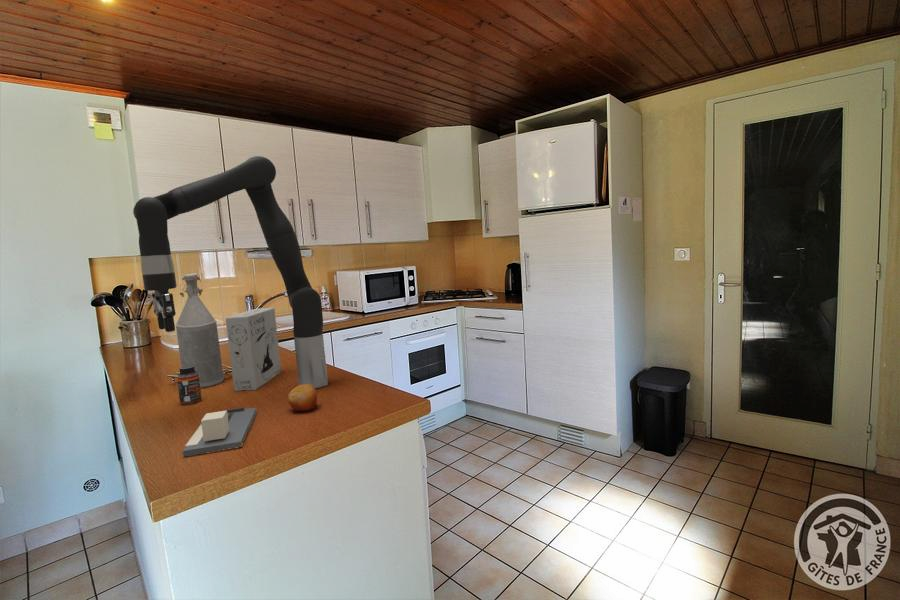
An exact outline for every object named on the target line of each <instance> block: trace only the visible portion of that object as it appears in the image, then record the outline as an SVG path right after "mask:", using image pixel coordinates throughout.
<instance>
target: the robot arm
mask: <svg viewBox="0 0 900 600" xmlns="http://www.w3.org/2000/svg"><path fill="white" fill-rule="evenodd" d="M276 177H277V170H276V167H275V165H274V163H273V162H272V161H271V160H270V159H269V158H267V157H264V156H259V155H255V156H252V157H249V158H248V159H246V160H245V161H244V162H241V163H240V164H238V165H236V166H235V167H232V168H230V169H227V170H225V171H223V172H220V173H218V174H215V175H211V176H209V177H205V178H202V179H199V180H196V181H192V182H190V183H187V184H183V185H180V186H178V187H175V188H173V189H171V190H169V191H167V192H166V193H163V194H160V195H157V196H147V197H141V198H139V200H137V202H136V203H135V204H134V207H133V210H132V212H133V217H134V219H136V223H137V230H138V234H139V236H138V247H139V254H140V269H141V274H142V282H143V283H142V284H143V288H144V291H146V292H149V291H150V292H151V291H153V292H152V293H151V297H152V306H153V313H154V314H155V316H156V319H157V325H158V330H165V332H167V333H171V332H176V324H175V316H176V313H177V312H176V310H175V304H174V303H175V301H174V294H173V293H170V292H169V290H171V289H172V290H173V289H176V288H177V280H176V272H175V264H174V261H173V258H172V253H171V244H170V240H169V236H168V235H169V234H168V232H169V231H168V229H169V228H168V220H170V219H173V218H175V217H177V216H179V215H183V214H186V213H189V212H193V211H195V210H198V209H200V208H203V207H206V206H209V205H210V204H213V203H215V202H216V201H220V200H221V199H223V198H224V197H227V196H229V195H232V194H234V193H236V192H239V191H242V190H245V191H246V193H247V195H248V197H249V200H250V202H251V204H252V205H253V209H254V211H255V213H256V216H257V217H256V218H257V220H258V223H259V225H260V229H261V231H262V234H263V237H264V240H265V242H266V245H267V248H268V250H269V253H270V255H271V257H272V259H273V261H274V263H275V265H276V267H277V269H278V272H279V273H280V275H281V277H282V279H283V280H282V281H283V284H284V287H285V290H286V294H287V298H288V302H289V306H290V307H291V309H292V310H291V311H292V320H293V328H292V329H293V331H292V332H293V339H294V340H293V342H294V351H295V359H296V368H297V369H296V371H297V378H298V380H297V381H298V386H299V385H304V384H310V385H312V386H313V387H314V388H315V389H318V388H322V387H325V386H329V384H328V383H329V381H328V371H327V370H328V369H327V361H326V354H325V353H326V352H325V343H324V333H323V327H324V318H323V303H322V298H321V296H320V293H319V292H318V291H317V290H315V289H314V288H313V287H312V285H311V283H310V281H309V279H308V277H307V274H306V272H305V269H304V264H303V258H302V253H301V247H300V243H299V242H298V241H299V240H298V238H297V235H296V232H295V230H294V227H293V225H292V222H290V220H289V218H288V217H287V215H286V214H285V213H284V212H283V210H282V209H281V206H280V205H279V203H278V202H277V199H276V196H275V192H274V190H273V187H272V184H273V182H274V181H275V179H276Z"/></svg>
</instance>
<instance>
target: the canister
mask: <svg viewBox="0 0 900 600" xmlns="http://www.w3.org/2000/svg"><path fill="white" fill-rule="evenodd" d="M183 276H184V277H182V278H181V281H182V280H183V281H184V282H185V285H183V287H182V290H181V291H182V292H179V295H180V296H181V297H182V298H184V297H185V295H184V293H186V294H187V299H186V300H185V303H184V305H183V308H182V310H181V313H180V315H179V317H178V319H177V322H176V324H175V331H176V336H177V344H178V351H179V360H180V368H181V367H184V366H194V369H195V371H196V372H197V373H198V374H199V381H200V389H201V388H209V387H212V386H215V385H219V384H220V383H222V382H224V380H225V377H224V370H223V362H222V355H221V347H220V340H219V333H218V324H217V323H218V322H217V320H216V319H215V317H214V316H213V315H212V313H211V312H210V310H209V309H208V308H207V306H206V305H205V304H204V303H203V301H202V300H201V297H200V296H201V295H202V292H203V288H202V287H201V288H202V289H201V288H199V286H198V281H199V282H200V283H202V281H201V277H200V276H198V273H189V274H184V275H183ZM184 288H185V289H186V290H184Z"/></svg>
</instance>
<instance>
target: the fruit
mask: <svg viewBox="0 0 900 600" xmlns="http://www.w3.org/2000/svg"><path fill="white" fill-rule="evenodd" d="M317 400H318V393H317V390H316V388H314V387H313V386H312V385H310V384H304V385H299V384H298V385H297V386H296V387H294V388H293V389H291V391H289V393H288V394H287V403H288V404H289V406H290V407H291V408H292V410H293V411H295V412H296V411H297V412H308V411H312V410H313V409H315V408H316V407H317Z"/></svg>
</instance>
